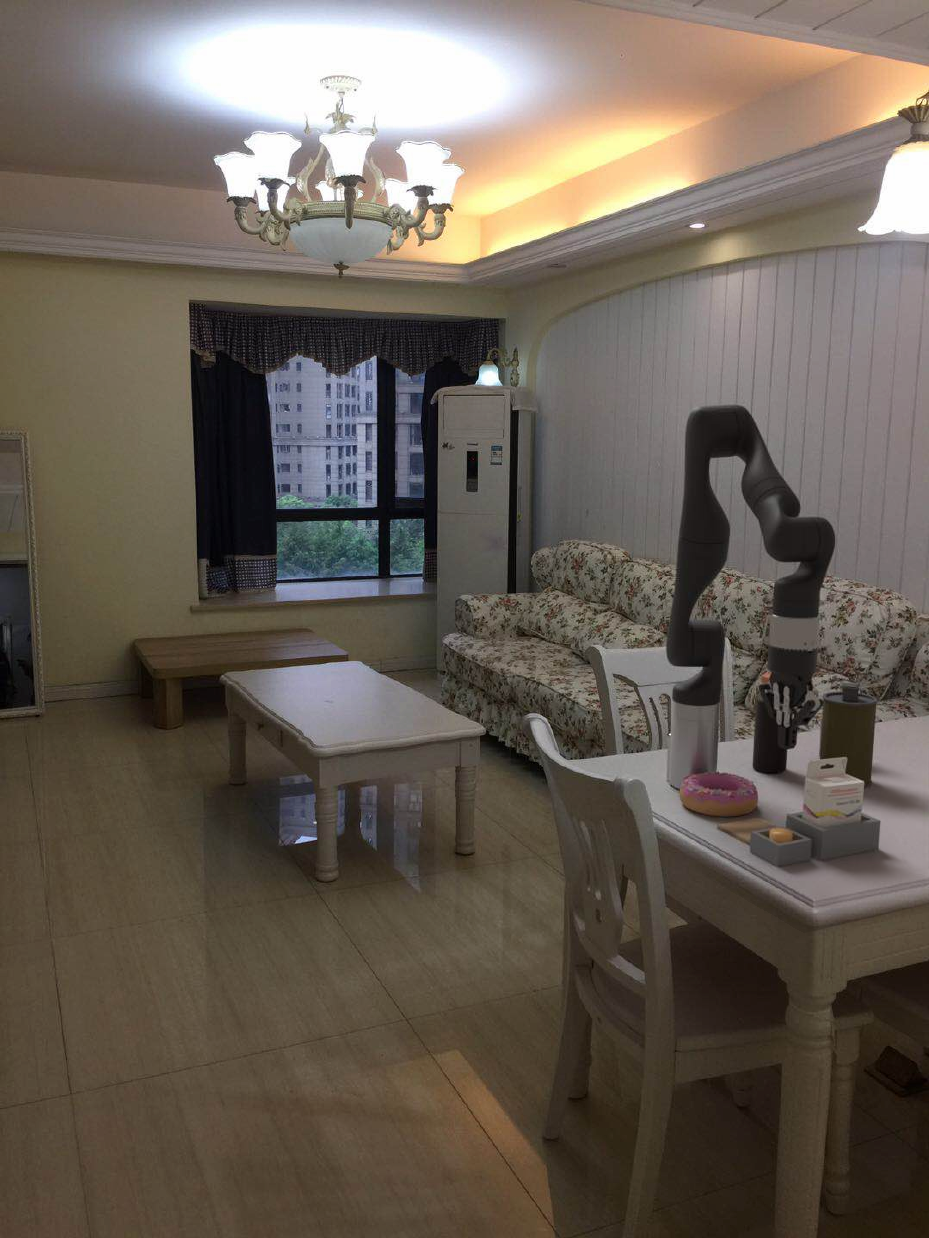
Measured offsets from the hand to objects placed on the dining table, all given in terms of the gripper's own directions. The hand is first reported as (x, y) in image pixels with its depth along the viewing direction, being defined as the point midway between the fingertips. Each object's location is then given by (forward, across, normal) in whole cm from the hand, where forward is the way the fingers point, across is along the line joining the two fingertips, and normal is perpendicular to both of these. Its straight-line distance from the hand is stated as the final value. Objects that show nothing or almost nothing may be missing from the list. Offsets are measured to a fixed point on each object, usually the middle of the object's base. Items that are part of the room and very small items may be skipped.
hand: (786, 747), depth 167 cm
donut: (+19, -24, +6) cm, 31 cm away
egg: (+18, 0, 0) cm, 18 cm away
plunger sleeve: (+18, 0, 0) cm, 18 cm away
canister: (+19, -26, +39) cm, 50 cm away
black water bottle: (+19, -38, +30) cm, 52 cm away
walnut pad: (+19, -10, +3) cm, 21 cm away
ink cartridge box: (+19, 0, +10) cm, 21 cm away
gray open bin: (+18, 0, +11) cm, 21 cm away
